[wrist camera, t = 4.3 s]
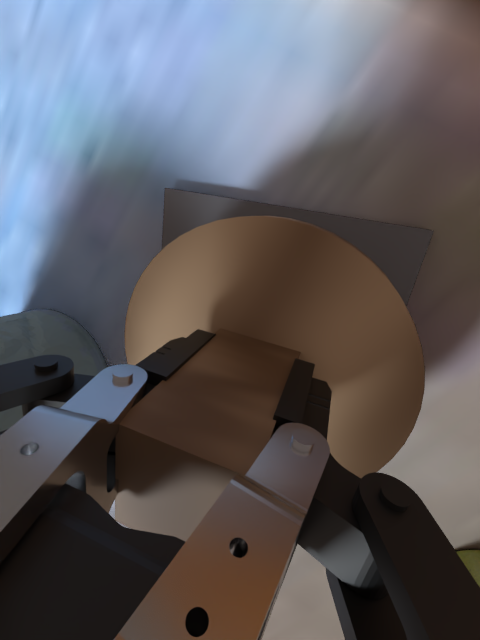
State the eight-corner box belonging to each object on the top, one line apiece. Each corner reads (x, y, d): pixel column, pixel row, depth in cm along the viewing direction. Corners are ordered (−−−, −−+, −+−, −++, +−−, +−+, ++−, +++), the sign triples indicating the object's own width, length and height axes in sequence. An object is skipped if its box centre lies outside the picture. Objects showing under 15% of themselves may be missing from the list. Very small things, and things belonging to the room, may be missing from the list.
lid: (478, 253, 10) (733, 340, 3) (360, 513, 14) (367, 764, 8) (146, 191, 13) (-70, 171, 6) (137, 423, 17) (8, 551, 11)
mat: (430, 230, 13) (433, 231, 12) (349, 451, 17) (350, 459, 17) (171, 188, 16) (164, 187, 15) (159, 388, 20) (154, 392, 19)
